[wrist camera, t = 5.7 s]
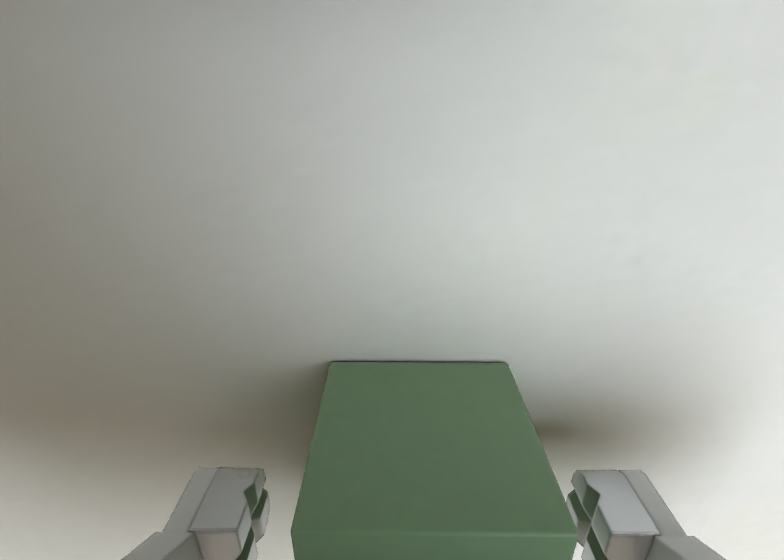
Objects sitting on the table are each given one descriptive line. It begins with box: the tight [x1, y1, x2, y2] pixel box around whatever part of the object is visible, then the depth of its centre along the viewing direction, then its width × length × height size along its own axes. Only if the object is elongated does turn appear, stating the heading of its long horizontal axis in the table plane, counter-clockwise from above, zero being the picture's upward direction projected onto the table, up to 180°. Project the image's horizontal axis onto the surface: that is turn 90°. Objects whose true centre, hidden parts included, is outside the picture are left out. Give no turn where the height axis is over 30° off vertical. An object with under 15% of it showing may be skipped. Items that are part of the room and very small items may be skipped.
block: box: [291, 362, 578, 560], centre depth 10 cm, size 5×5×5 cm
